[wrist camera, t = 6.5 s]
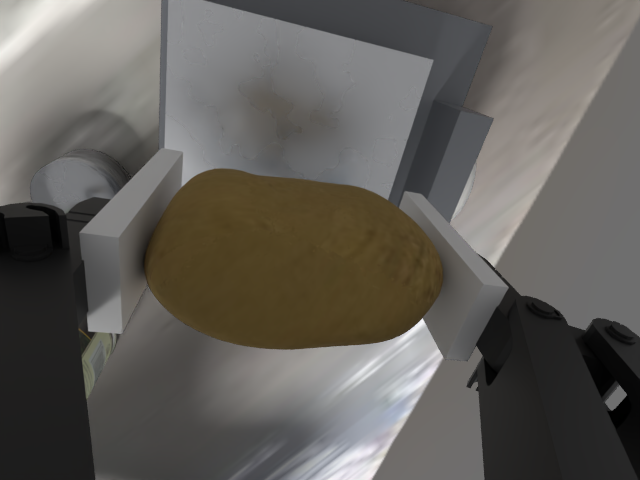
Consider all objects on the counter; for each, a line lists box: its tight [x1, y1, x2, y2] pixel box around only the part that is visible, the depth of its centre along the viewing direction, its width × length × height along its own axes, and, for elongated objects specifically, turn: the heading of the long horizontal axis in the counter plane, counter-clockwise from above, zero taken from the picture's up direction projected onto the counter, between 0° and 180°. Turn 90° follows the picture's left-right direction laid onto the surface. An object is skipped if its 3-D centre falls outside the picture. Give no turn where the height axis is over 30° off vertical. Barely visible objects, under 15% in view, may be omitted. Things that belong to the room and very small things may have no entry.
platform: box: [164, 0, 433, 200], centre depth 21 cm, size 13×13×1 cm
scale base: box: [159, 0, 494, 223], centre depth 23 cm, size 18×19×7 cm
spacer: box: [30, 149, 130, 214], centre depth 25 cm, size 5×5×3 cm
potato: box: [144, 168, 443, 350], centre depth 12 cm, size 7×8×8 cm
